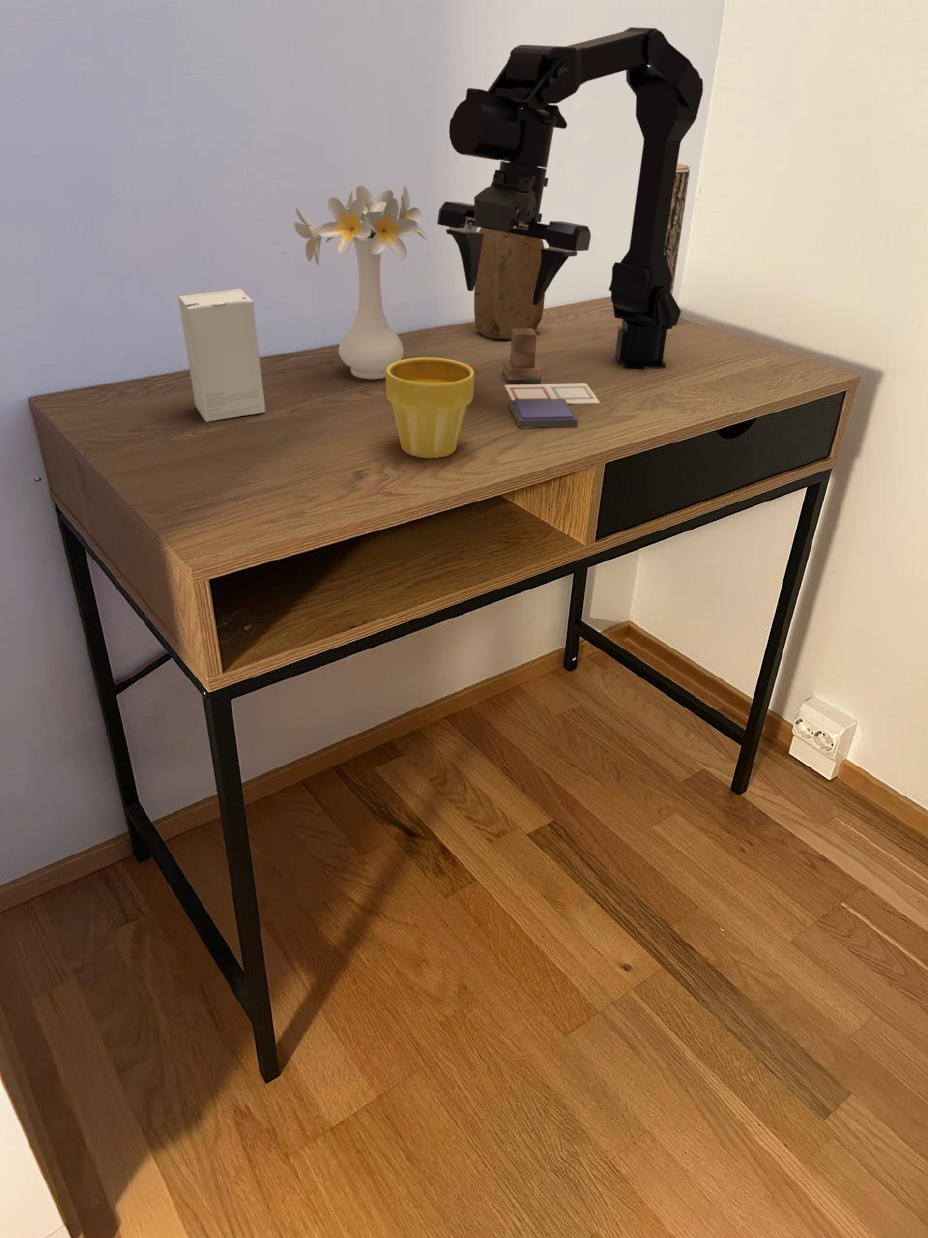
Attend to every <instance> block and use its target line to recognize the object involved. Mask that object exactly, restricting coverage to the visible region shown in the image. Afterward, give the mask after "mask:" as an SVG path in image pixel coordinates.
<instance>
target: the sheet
mask: <svg viewBox="0 0 928 1238" xmlns="http://www.w3.org/2000/svg"><path fill="white" fill-rule="evenodd" d="M504 388H505V390H506V393H507V394H508V396H509V398H510V400H516V399H565V401H566V402H567V404H573V405H600V404H601V402H600V400H599V399H598V398H597V396H596V395H595V393H594V392H593V391H592V390H591V388H590V387H589V384H587V383H582V382H581V383H579V382H578V383H541V384H520V385H508V384H504Z"/></svg>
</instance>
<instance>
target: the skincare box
mask: <svg viewBox="0 0 928 1238" xmlns="http://www.w3.org/2000/svg"><path fill="white" fill-rule="evenodd" d="M178 303H179V309H180V316H181V325H182V331H183V334H184V342H185V348H186V354H187V355H186V356H187V360H188V365H189V373H190V378H191V384H192V385H191V386H192V390H193V391H192V392H193V397H194V403H195V408H196V409H197V410H198V412H199V414H200V415H201V416H202V419H204V421H205V422H206V423H208V422H212V421H218V420H219V421H220V420H225V419H231V418H237V417H241V416H249V415H256V414H264V413H266V405H265V397H264V395H265V394H264V388H263V387H264V386H263V378H262V372H261V359H260V352H259V342H258V335H257V326H256V319H255V318H256V317H255V307H254V304H255V303H254V300H253V299H252V298H250V297H249V296H248V295H247V294H246V292H244V290H243V289H241V288H236V289H227V290H221V291H212V292H204V293H197V294H188V295H179V296H178Z"/></svg>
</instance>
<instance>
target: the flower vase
mask: <svg viewBox="0 0 928 1238" xmlns="http://www.w3.org/2000/svg"><path fill="white" fill-rule="evenodd" d="M402 190H403V191H402V194H401V195H400V206H399V202H398V200H397V199H396V198H395V197H394V191H393V190H391V189H385V190H383V191H382V192H380V193H379V194H378V195H377V197H376V198H375V200H374V198H373V196H372V193H371V192H370V190H369V189H368V188H367V187H366V186H365V185H362V184H360V185H358V186H356V188H355V195H356V199H354V200H353V190H350V193H349V197H348V199H347V204H346V206H345V205H344V203H343V202H342V201H341V200H340V199H338V197H335V196H331V197H330V198H329V199H328V201H327V206H328V211H329V213H330V215H331V216H332V218H333V219H334V220H335V221H327V222H325V223H324V224H321V225H320V226H319V227H317V226H315V225H314V224H313V222H311V221H310V220H309V219H308V218H307V217H306V216H305V215H304V214H303V213H302V212H301V211H300V210H299V208H298V207H294V208H295V212H296V214H297V215H296V216H298V219H299V220H300V221H301V222H298V221H295V222H294V224H293V226H294V229H295V231H296V233H297V234H298V235H299V236H300V237H301V238H304V239H308V240H307V241H306V243H305V256H306V259H307V261H308V262H312V260H313V257H314V259H315V260H314V261H315V262H316V265H317V266H319V265H320V250H321V242H322V239H323V238H324V239H326V241H325V243H328V242H330V241H331V240H333V239H334V238H336V237H337V238H338V239H337V242H336V249H337V252H338V254H339V255H340V256H345V255H346V254H347V253H348V252H349V250H350V248H351V246H352V243H353V244H354V247H355V248H354V249H355V253H356V254H355V255H356V258H357V265H358V266H357V267H358V305H357V306H358V307H357V312H356V316H355V319H354V322H353V324H352V326H351V327H350V329H349V330H348V331H347V332H346V333H345V334H344V335H343V336H342V338H341V341H340V343H339V348H338V355H339V357H340V358H341V361H342V362H343V363H344V364H345V365H346V366H348V367H349V368H350V373H351V375H352V376H354V377H356V378H358V379H362V380H363V379H364V380H381V379H386V369H387V367H388V366H389V365H390V364H392V363H394V362H397V361H400V360H403V357H404V356H403V355H404V352H405V350H404V345H403V343H402V341H401V339H400V337H399V336H398V335H397V333H396V332H395V331H394V330H393V329H392V328H391V327H390V325H389V323H388V321H387V318H386V315H385V312H384V309H383V303H382V300H383V299H382V290H381V286H382V285H381V259H382V258H381V256H382V253H383V251H384V250H385V249H386V247H387V246H388V247H389V249H390V251H391V252H392V254H393V255H394V256H395V257H396V258H397V259H399V260H405V259H406V258H407V253H408V252H407V248H406V245H405V243H404V240H402V238H401V237H406V236H410V235H412V234H414V233H416V234H417V235H419V236H420V237H421V238H423V239H424V240H426V242H429V238H428V235H427V233H426V232H425V231H424V229H423V228H422V227H421V226H420V225H419V224H418V223H420V222H422V220H423V214H422V212H421V210H420V209H419V208H418V207H414V206H413V207H410V205H411V200H410V195H409V191H408V189H407V186H405V185H404V186H403V189H402Z"/></svg>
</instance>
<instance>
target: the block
mask: <svg viewBox="0 0 928 1238" xmlns="http://www.w3.org/2000/svg"><path fill="white" fill-rule="evenodd" d="M519 225H523V226H528V225H527V224H524V222H519ZM479 228H480V229H479V230H478V232H481V233H484V237H483V243H482V249H481V255H480V261H479V267H478V273H477V279H476V283H475V286H474V290H473V291H474V292H473V309H474V310H473V311H474V314H473V315H474V325H475V328H476V330H477V331H478V332H480V334H481V335H482V336H485V337H486V338H489V339H493V340H505V341H506V340H508V341H510V340H512V329H533V330H534V331H535V332H536V330H537V329H538V326H539V324H540V323H541V321H542V318H543V314H544V306H545V299H546V293H545V294H544V295H543V297H542V299H541V301H540V302H539V304H538V305H533V296H534V290H535V286H536V282H537V278H538V273H539V269H540V265H541V248H545V244H544V240H543V239H538V238H533V237H528V236H522V235H517V234H512V233H507V232H502V231H497V230H492V229H487V228H481V227H479ZM519 229H522V228H519ZM524 230H527V229H524Z"/></svg>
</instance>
